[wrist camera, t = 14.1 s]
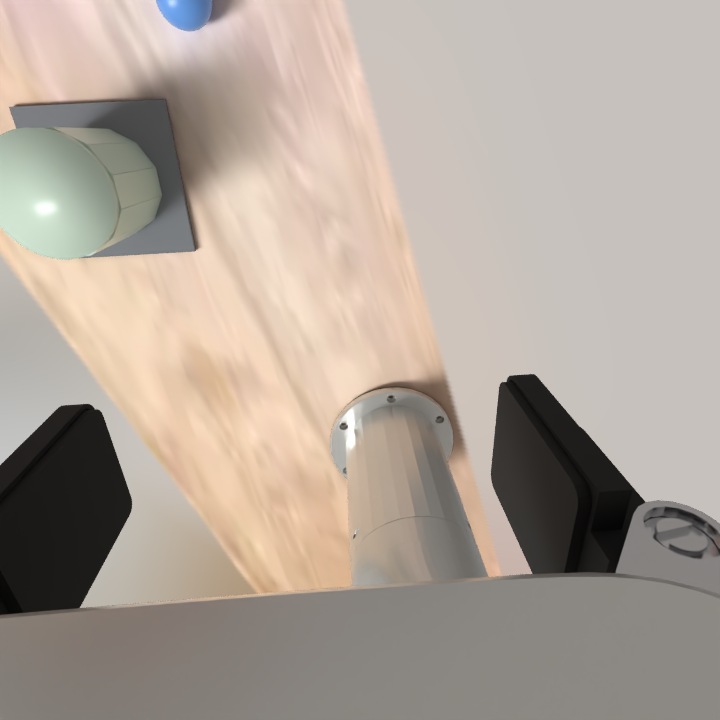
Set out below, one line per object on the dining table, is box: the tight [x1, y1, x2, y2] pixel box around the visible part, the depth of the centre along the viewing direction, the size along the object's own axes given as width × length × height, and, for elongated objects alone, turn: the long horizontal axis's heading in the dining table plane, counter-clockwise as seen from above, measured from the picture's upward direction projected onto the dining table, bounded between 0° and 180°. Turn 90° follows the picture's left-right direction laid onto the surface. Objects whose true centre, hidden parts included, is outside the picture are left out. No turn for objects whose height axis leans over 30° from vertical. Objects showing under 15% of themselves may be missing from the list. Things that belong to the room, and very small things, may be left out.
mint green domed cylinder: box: [0, 127, 162, 260], centre depth 32 cm, size 8×8×8 cm
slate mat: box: [9, 99, 196, 258], centre depth 36 cm, size 11×11×1 cm
